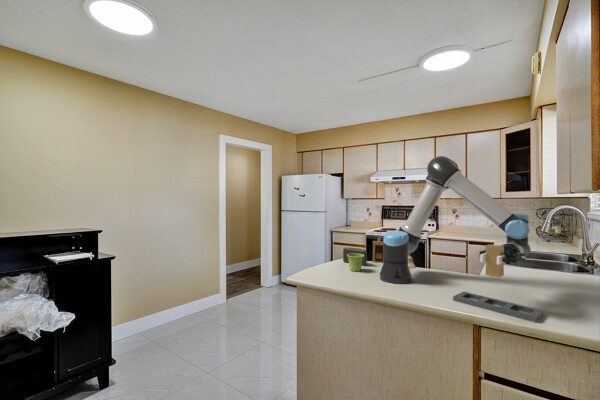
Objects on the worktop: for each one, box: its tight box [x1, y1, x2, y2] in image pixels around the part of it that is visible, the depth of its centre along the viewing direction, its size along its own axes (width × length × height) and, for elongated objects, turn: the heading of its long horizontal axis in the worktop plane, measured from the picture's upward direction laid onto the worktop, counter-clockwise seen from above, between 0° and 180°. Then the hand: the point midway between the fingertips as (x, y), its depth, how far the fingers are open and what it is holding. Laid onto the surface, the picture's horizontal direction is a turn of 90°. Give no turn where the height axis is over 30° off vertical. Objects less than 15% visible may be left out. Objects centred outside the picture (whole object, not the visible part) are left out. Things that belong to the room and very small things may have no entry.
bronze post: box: [485, 244, 505, 278], centre depth 108 cm, size 4×4×11 cm
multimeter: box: [367, 230, 387, 263], centre depth 188 cm, size 15×10×20 cm
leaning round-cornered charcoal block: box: [342, 247, 368, 267], centre depth 178 cm, size 16×5×9 cm, turn 48°
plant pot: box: [347, 253, 364, 273], centre depth 161 cm, size 9×9×9 cm
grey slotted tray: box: [452, 291, 544, 323], centre depth 108 cm, size 26×10×2 cm, turn 39°
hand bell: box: [408, 253, 416, 269], centre depth 173 cm, size 8×8×16 cm
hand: (489, 259), depth 105 cm, fingers closed on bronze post, 4 cm apart
